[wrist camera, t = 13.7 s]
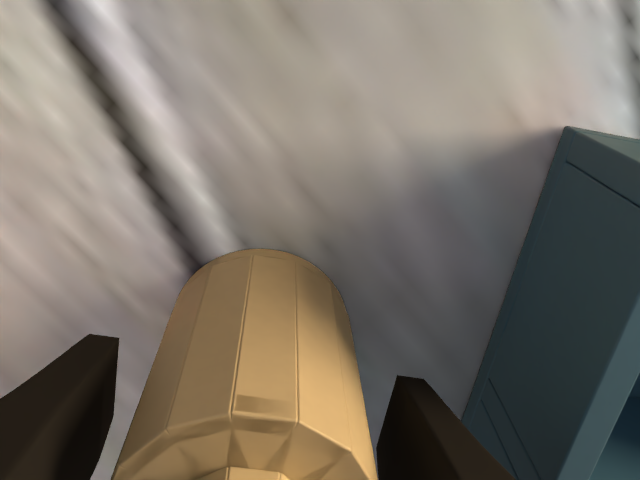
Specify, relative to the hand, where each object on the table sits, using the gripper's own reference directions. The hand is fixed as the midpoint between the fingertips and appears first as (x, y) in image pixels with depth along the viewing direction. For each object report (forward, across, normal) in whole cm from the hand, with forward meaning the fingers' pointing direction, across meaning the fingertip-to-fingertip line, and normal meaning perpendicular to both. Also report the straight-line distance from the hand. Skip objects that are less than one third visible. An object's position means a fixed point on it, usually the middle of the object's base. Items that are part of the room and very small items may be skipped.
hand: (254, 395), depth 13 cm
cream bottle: (+3, 0, 0) cm, 3 cm away
